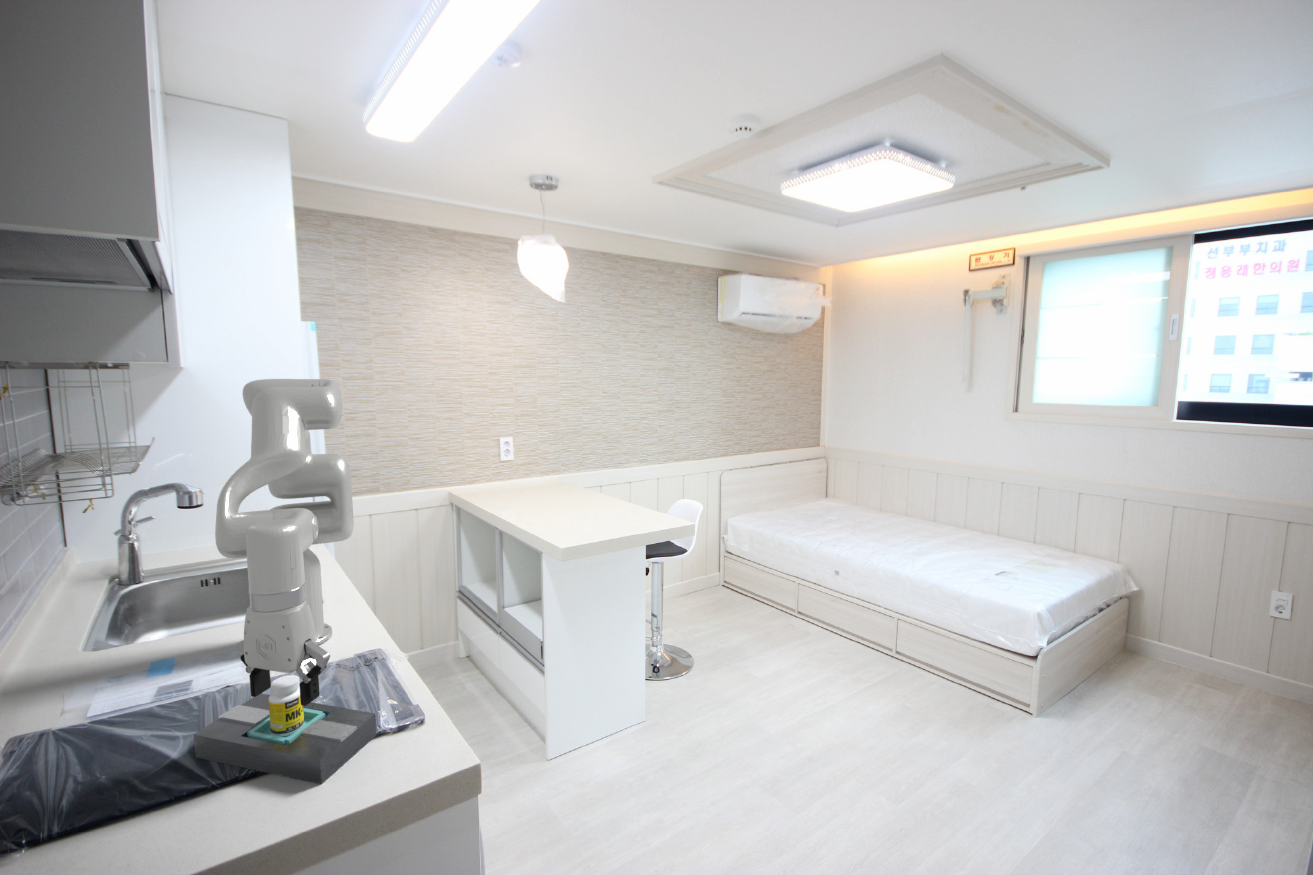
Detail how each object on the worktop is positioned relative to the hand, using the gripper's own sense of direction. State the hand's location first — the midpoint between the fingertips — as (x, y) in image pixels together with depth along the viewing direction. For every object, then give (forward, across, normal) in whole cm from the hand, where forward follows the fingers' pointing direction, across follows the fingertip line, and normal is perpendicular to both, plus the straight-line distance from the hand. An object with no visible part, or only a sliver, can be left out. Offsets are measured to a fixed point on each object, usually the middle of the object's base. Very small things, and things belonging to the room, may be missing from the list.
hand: (285, 696), depth 95 cm
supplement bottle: (+6, 0, 0) cm, 6 cm away
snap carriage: (+8, 0, 0) cm, 8 cm away
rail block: (+9, 0, 0) cm, 9 cm away
